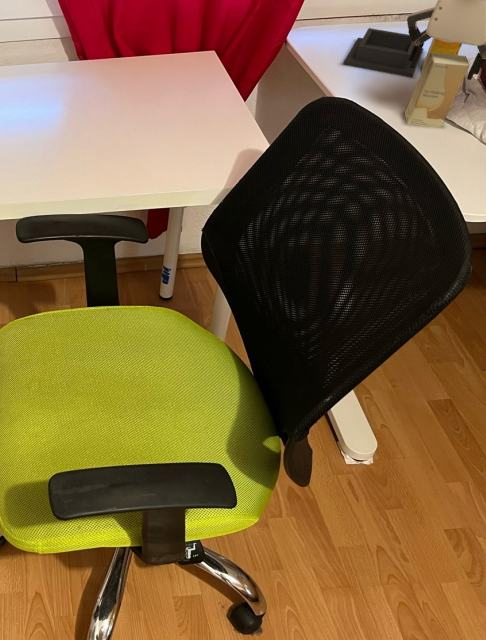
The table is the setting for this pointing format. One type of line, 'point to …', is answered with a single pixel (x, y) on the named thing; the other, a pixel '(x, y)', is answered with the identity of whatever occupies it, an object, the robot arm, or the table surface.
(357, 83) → the table surface
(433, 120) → the cosmetic box
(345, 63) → the dark grey box holder
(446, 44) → the supplement bottle
